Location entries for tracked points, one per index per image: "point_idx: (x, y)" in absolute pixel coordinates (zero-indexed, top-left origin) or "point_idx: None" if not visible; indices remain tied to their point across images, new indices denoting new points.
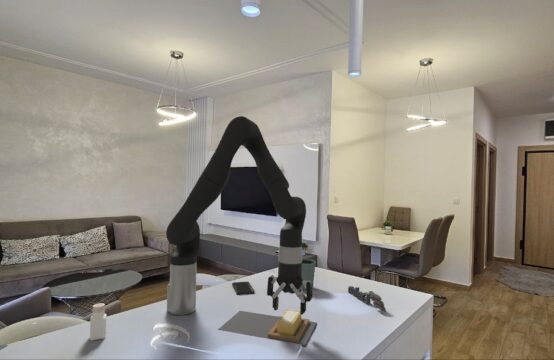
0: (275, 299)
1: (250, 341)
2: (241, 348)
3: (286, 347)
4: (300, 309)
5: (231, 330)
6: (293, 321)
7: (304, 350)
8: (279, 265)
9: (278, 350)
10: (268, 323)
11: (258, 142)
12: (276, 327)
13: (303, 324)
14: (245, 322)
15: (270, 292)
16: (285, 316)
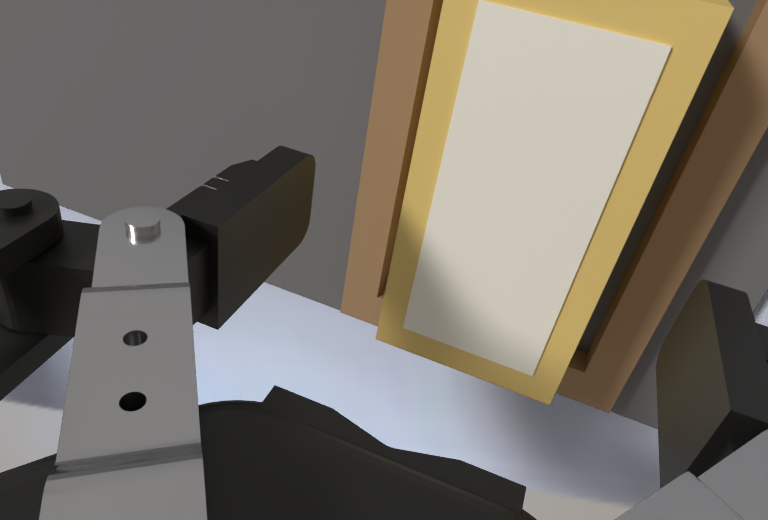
0: (207, 321)
1: (257, 317)
2: (239, 386)
3: (513, 409)
4: (660, 414)
5: (82, 197)
6: (558, 346)
7: (656, 460)
8: None
9: (458, 433)
10: (295, 28)
11: None
12: (392, 204)
13: (730, 105)
14: (95, 33)
15: (45, 360)
16: (452, 222)
